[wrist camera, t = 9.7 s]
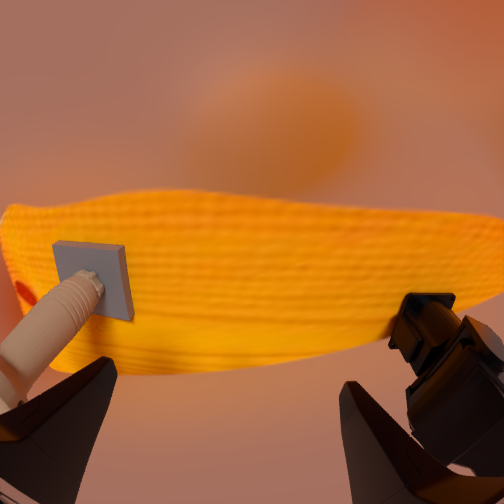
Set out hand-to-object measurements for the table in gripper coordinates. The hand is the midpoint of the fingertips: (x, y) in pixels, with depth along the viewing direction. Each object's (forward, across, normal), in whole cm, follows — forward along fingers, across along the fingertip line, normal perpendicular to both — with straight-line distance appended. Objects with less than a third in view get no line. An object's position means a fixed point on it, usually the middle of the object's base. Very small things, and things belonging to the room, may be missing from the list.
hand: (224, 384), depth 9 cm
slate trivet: (+13, +14, +4) cm, 20 cm away
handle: (+12, +14, +4) cm, 19 cm away
